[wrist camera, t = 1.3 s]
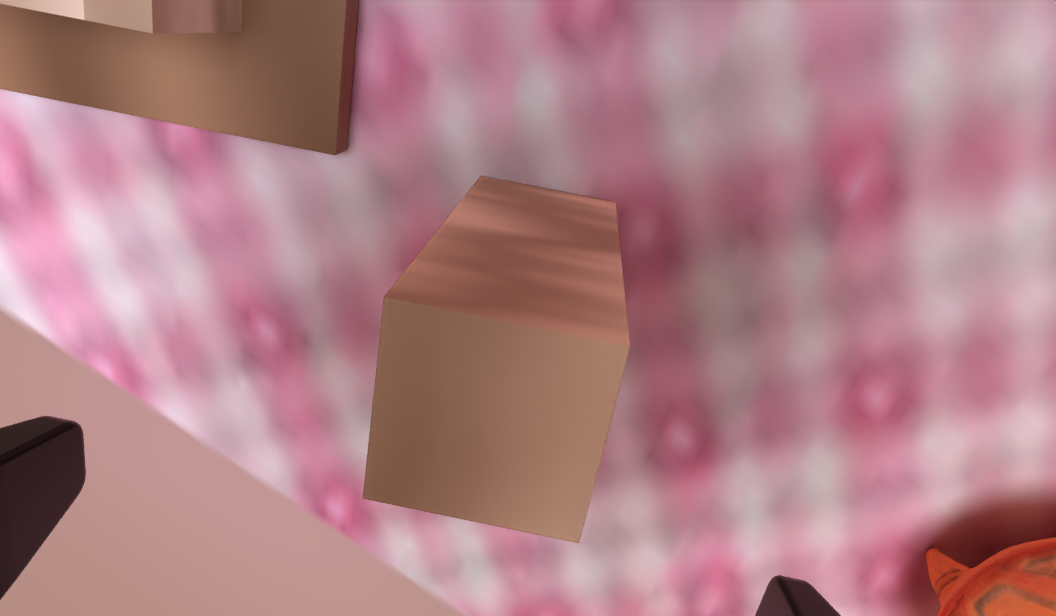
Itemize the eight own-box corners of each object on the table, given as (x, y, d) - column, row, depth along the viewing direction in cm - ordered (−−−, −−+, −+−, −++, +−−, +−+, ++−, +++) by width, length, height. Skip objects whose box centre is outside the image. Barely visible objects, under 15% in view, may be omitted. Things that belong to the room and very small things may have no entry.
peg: (615, 202, 20) (630, 347, 11) (587, 325, 22) (578, 543, 13) (481, 175, 20) (384, 296, 11) (462, 300, 22) (362, 498, 13)
